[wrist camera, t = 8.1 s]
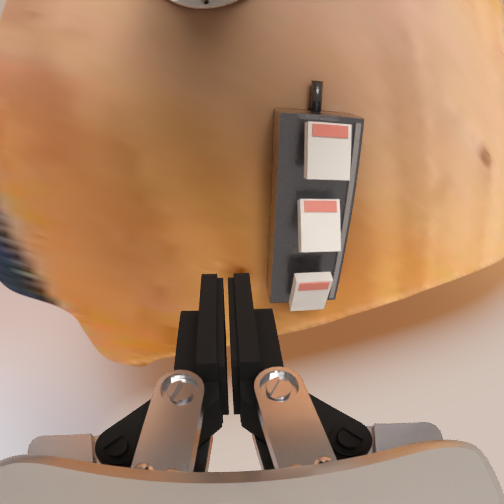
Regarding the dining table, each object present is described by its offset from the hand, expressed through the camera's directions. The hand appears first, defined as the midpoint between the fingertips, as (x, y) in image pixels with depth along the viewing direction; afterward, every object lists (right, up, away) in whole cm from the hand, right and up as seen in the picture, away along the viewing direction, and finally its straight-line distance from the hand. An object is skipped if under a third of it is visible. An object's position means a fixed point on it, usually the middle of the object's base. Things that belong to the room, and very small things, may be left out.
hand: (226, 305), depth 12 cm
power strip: (+8, +9, +27) cm, 30 cm away
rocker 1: (+8, +12, +19) cm, 24 cm away
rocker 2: (+8, +5, +23) cm, 25 cm away
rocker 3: (+8, -2, +28) cm, 29 cm away
